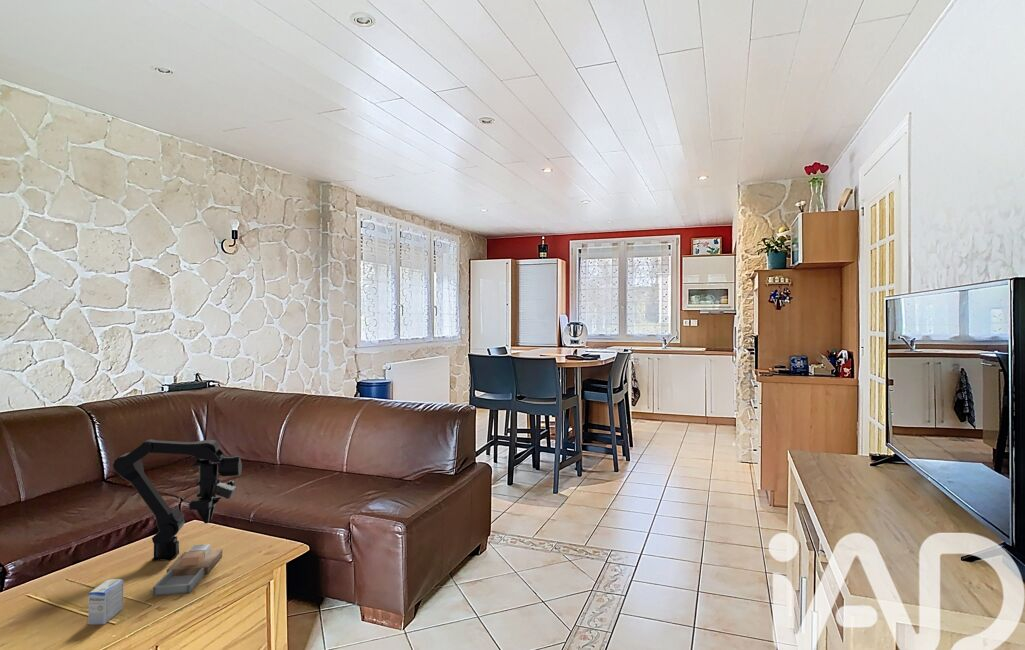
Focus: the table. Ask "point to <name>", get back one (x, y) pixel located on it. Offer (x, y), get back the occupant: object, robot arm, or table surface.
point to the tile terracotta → (192, 558)
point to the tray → (177, 583)
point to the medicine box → (105, 601)
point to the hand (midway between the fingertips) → (207, 521)
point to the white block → (201, 549)
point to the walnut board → (206, 563)
